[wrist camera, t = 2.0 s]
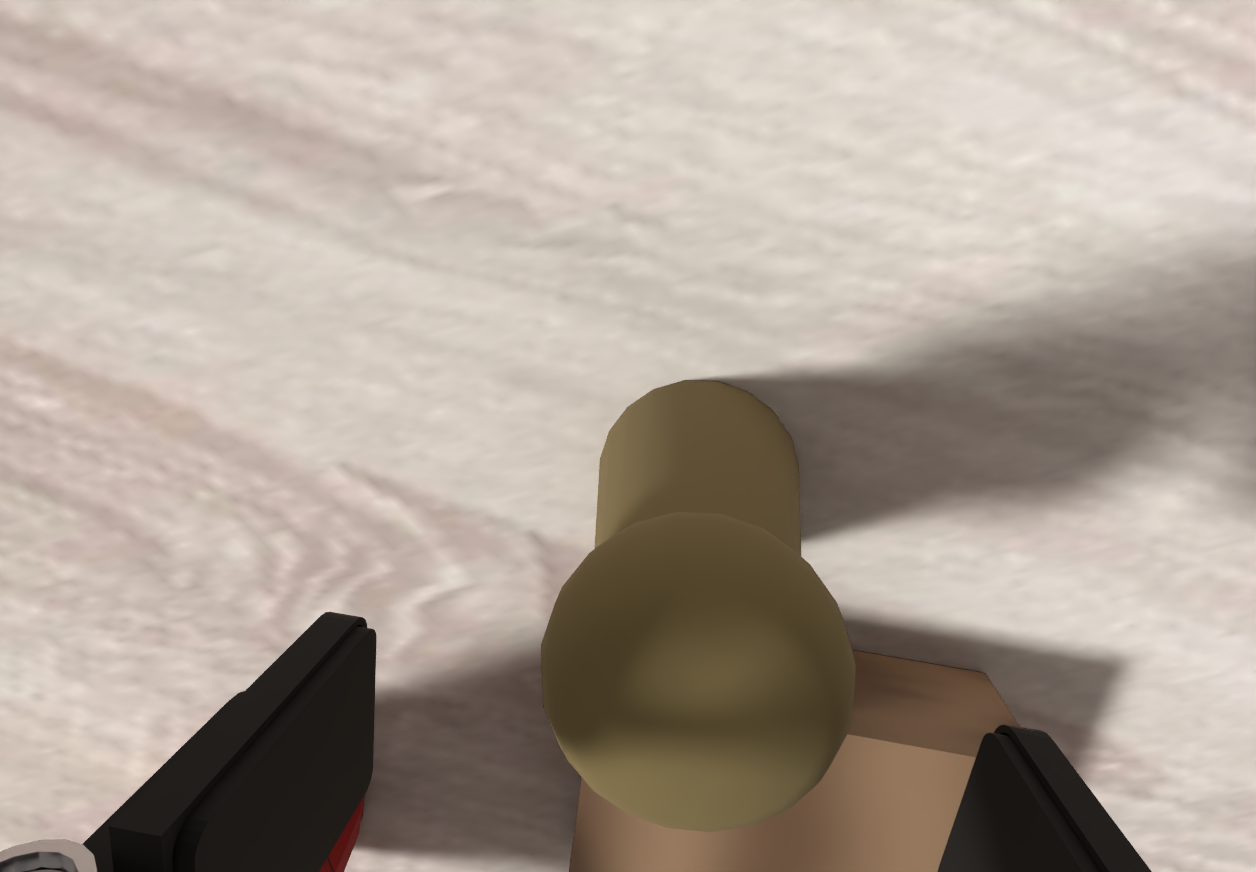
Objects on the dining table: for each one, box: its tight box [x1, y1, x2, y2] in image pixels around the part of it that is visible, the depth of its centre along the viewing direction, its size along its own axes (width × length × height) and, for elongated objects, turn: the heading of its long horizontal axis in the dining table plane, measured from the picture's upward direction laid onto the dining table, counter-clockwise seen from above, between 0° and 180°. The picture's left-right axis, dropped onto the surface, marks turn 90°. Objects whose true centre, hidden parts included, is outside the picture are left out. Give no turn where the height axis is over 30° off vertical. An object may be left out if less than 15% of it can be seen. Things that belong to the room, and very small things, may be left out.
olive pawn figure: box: [541, 380, 856, 832], centre depth 15 cm, size 6×6×11 cm
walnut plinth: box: [569, 650, 1020, 872], centre depth 21 cm, size 12×10×4 cm
